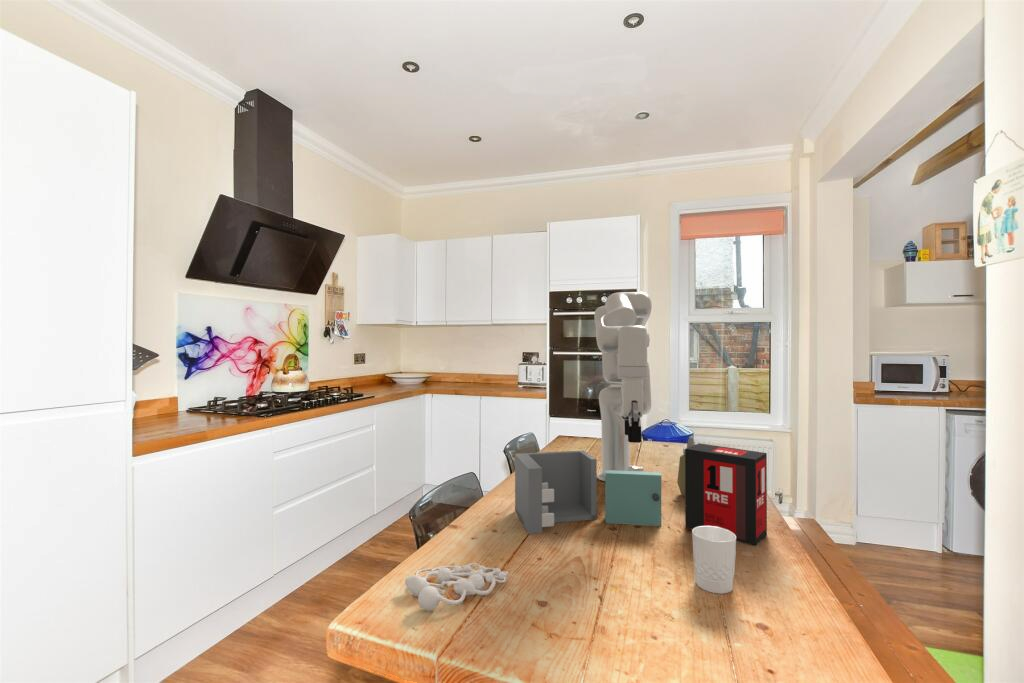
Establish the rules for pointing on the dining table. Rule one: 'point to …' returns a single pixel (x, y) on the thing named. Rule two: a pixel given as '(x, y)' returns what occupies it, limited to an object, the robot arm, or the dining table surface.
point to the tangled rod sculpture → (462, 586)
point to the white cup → (714, 558)
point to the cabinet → (555, 488)
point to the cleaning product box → (727, 490)
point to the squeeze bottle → (683, 468)
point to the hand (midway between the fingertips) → (632, 438)
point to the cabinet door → (633, 497)
